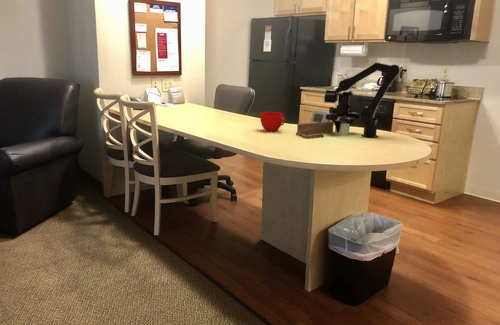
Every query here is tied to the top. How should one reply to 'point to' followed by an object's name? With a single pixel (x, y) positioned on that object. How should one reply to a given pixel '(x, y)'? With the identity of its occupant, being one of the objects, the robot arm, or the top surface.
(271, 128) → the ceramic cup
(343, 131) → the cabinet block
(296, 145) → the top surface
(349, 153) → the top surface
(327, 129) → the wall board
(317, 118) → the digital clock
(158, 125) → the top surface
